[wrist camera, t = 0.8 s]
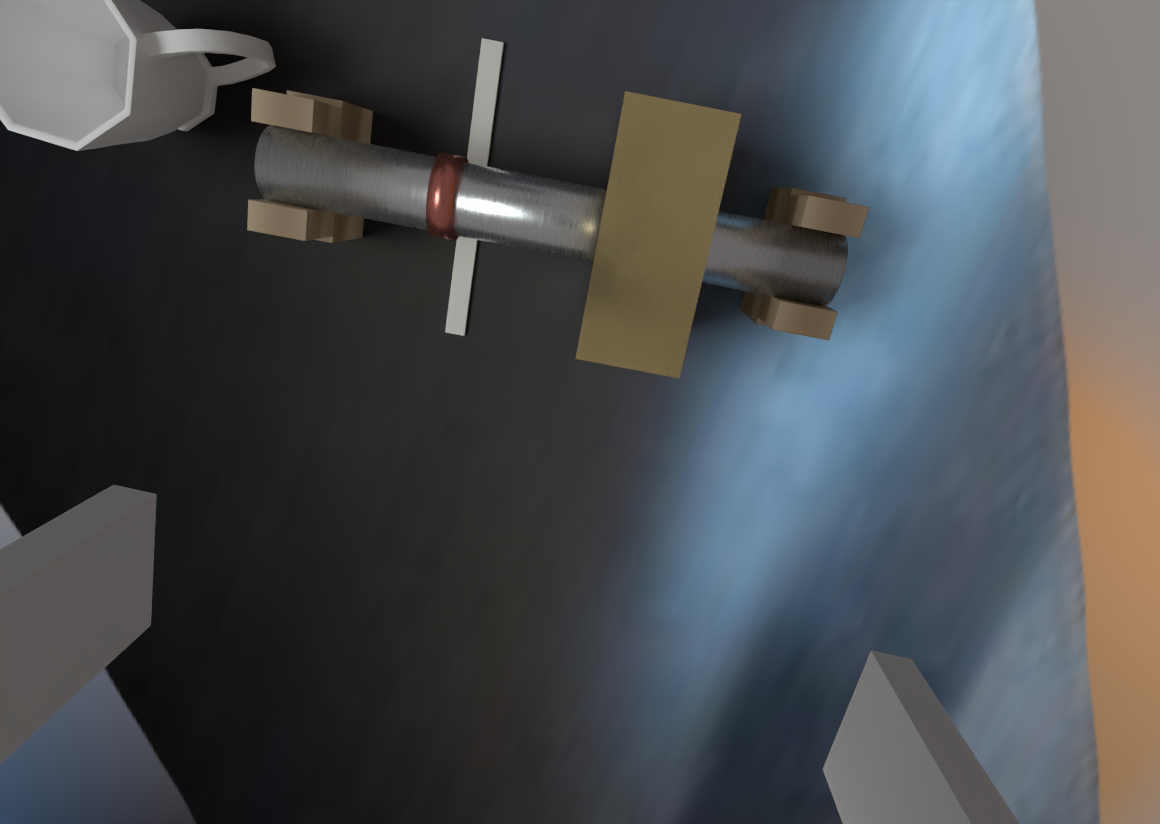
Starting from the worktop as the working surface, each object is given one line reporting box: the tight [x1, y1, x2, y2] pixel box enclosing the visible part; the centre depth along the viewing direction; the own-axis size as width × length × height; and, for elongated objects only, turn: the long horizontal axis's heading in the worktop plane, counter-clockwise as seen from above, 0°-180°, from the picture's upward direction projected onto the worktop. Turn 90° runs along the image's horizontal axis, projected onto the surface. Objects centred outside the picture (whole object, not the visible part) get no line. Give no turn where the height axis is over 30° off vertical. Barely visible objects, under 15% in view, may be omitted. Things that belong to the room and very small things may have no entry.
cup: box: [0, 0, 276, 151], centre depth 30 cm, size 7×10×8 cm
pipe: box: [255, 125, 848, 306], centre depth 29 cm, size 24×3×3 cm, turn 80°
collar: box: [576, 91, 741, 378], centre depth 29 cm, size 4×9×9 cm, turn 170°
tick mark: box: [445, 38, 504, 336], centre depth 34 cm, size 1×14×1 cm, turn 170°
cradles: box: [247, 88, 869, 340], centre depth 31 cm, size 24×6×7 cm, turn 80°
